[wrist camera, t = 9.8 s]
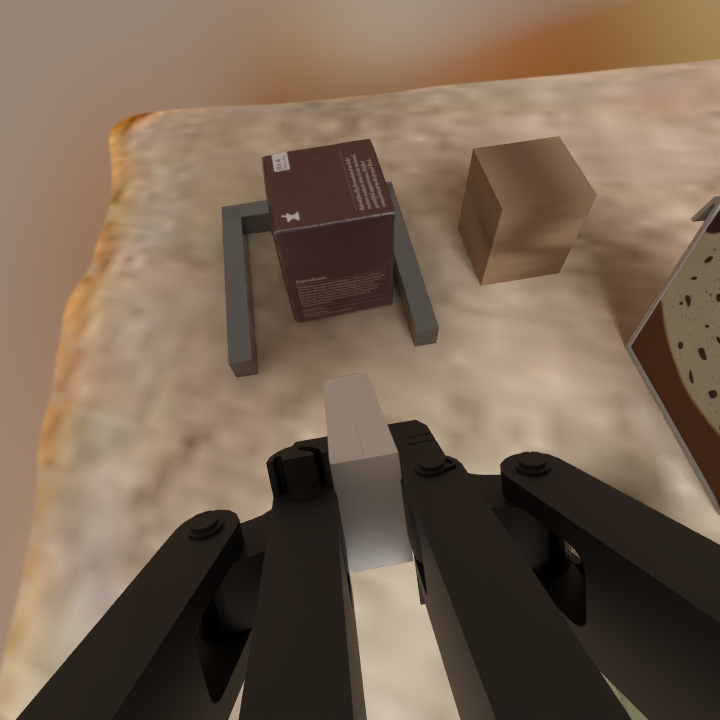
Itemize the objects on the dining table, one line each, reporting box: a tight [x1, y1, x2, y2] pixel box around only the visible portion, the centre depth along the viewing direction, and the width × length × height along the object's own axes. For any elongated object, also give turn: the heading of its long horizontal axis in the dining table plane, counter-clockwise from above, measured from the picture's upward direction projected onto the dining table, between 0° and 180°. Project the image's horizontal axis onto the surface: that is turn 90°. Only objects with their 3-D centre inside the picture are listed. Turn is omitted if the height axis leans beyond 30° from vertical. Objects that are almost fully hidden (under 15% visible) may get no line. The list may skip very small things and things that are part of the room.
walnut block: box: [458, 136, 597, 286], centre depth 28 cm, size 5×5×6 cm
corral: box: [222, 182, 439, 377], centre depth 29 cm, size 11×12×2 cm
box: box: [262, 139, 395, 322], centre depth 27 cm, size 6×6×7 cm
